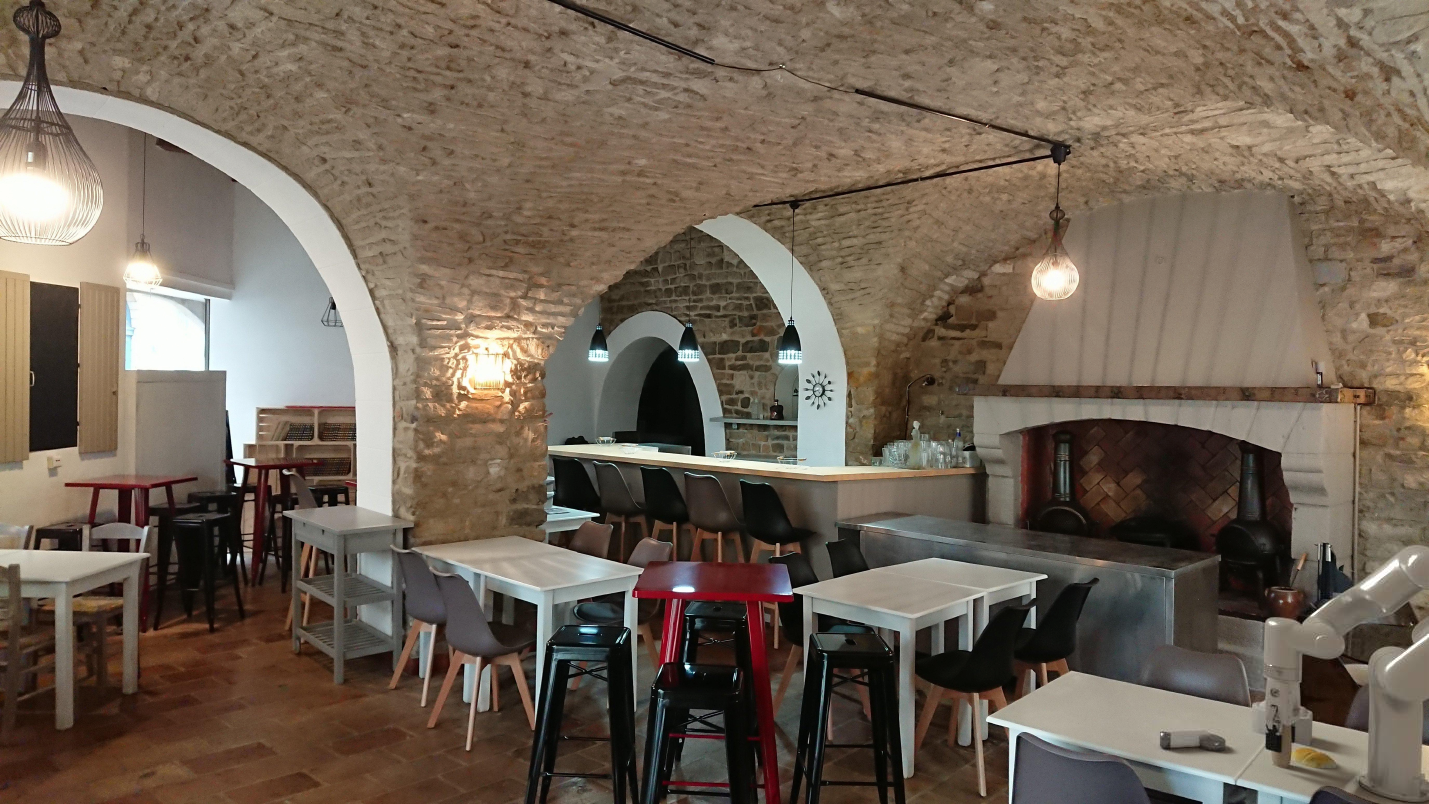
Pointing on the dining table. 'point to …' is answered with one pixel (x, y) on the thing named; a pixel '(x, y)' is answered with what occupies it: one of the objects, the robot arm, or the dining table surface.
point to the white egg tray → (1301, 727)
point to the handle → (1284, 746)
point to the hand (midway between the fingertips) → (1280, 745)
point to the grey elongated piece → (1192, 740)
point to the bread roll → (1313, 758)
